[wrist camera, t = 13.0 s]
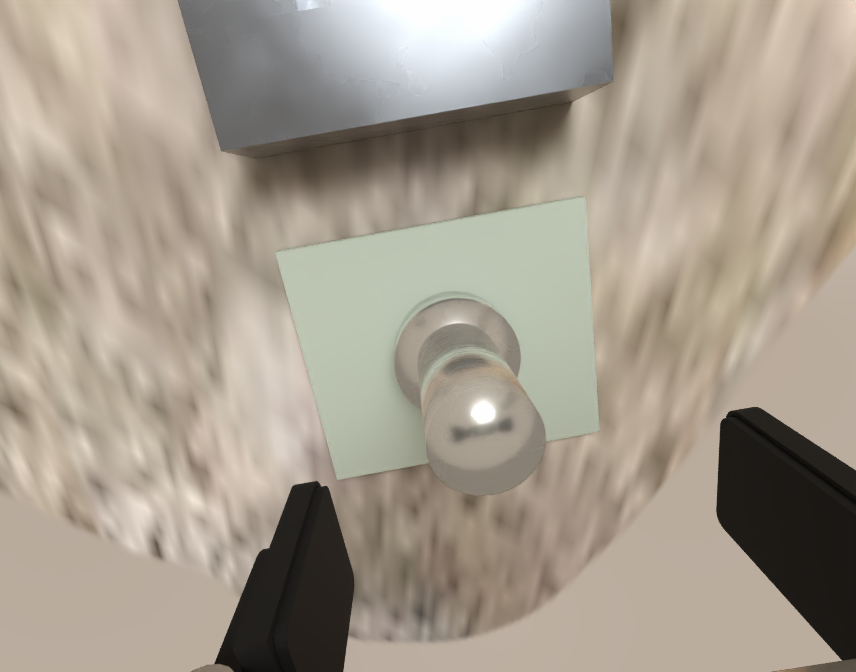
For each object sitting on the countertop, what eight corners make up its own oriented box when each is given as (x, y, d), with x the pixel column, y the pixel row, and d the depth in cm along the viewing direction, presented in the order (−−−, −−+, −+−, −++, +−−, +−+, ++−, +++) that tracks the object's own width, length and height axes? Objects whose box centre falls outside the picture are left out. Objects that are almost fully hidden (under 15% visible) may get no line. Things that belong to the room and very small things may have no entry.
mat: (578, 196, 21) (585, 196, 21) (593, 424, 25) (599, 431, 24) (279, 250, 21) (275, 252, 20) (339, 471, 25) (337, 480, 24)
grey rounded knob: (505, 282, 22) (574, 340, 13) (515, 392, 23) (583, 507, 15) (386, 300, 21) (376, 370, 13) (404, 409, 23) (407, 535, 14)
